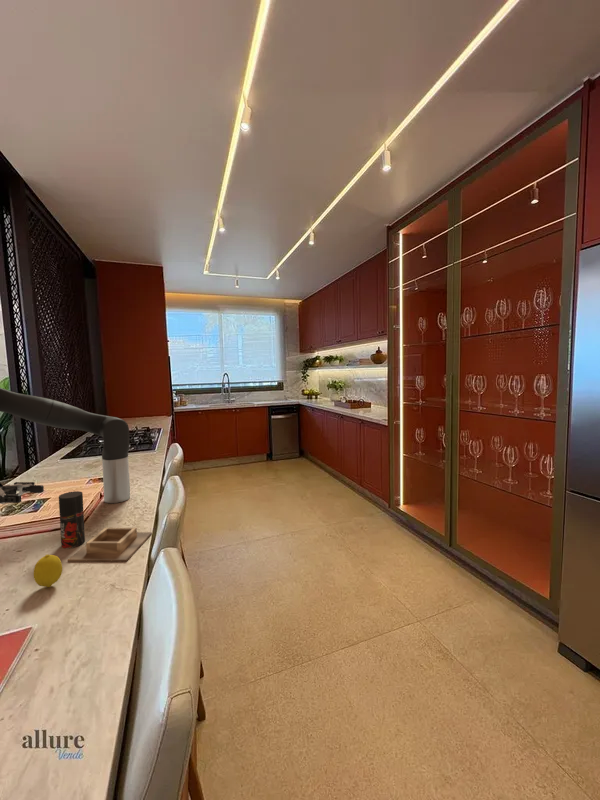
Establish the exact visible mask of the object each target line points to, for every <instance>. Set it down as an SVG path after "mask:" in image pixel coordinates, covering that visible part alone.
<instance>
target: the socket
mask: <svg viewBox="0 0 600 800" xmlns="http://www.w3.org/2000/svg"><path fill="white" fill-rule="evenodd" d="M152 535H153V533H152V532H151V531H149V532H146V531H145V532H144V531H141V532H140V531H139V532H138V529H137V527H104V528H103V529H102V530H101V531H99V532H97V534H96V535H94V536H92V538H90V540H88V541H87V542H86V543H85V545H83V547H81V548H80V549H78V550H77V551H76V552H74V554H73V555H72V556H70V557H69V558H67V562H68V563H69V562H71V563H73V562H74V563H76V562H77V563H79V562H81V563H82V562H83V563H85V562H86V563H88V562H89V563H90V562H91V563H92V562H93V563H94V562H95V563H105V562H107V563H110V562H111V563H117V562H118V563H124V562H125V563H127V562H128V560H130V559H131V557H132V556H134V554H135V553H136V552H137V551H138V550H139V549H140V548H141V547H142V545H144V543H145V542H146V541H148V539H150V537H151V536H152Z"/></svg>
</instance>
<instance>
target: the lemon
mask: <svg viewBox="0 0 600 800" xmlns="http://www.w3.org/2000/svg"><path fill="white" fill-rule="evenodd" d="M62 573H63V564H62V561H61V559H60V558H59V556H57V555H54V554H49V553H48V554H45V555H44V556H42V557H41V558H39V559H38V561H37V562H36V564H35V565H34V569H33V579H34V581H35V583H36V584H37V585H38V586H40V587H46V588H50V587H52V585H54V584H55V583H57V582H58V581H59V580H60V578H61V577H62Z"/></svg>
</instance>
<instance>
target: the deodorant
mask: <svg viewBox="0 0 600 800" xmlns="http://www.w3.org/2000/svg"><path fill="white" fill-rule="evenodd" d="M83 497H84V496H83V492H82V491H79V490H77V491H76V490H74V491H69V492H65V493H61V494H60V495H59V496H58V509H59V525H60V543H61V544H60V545H61V548H63V549H73V548H77V547H80V546H82V545H83V544H85V542H86V534H85V533H86V531H85V514H84V498H83Z"/></svg>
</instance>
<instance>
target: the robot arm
mask: <svg viewBox="0 0 600 800" xmlns="http://www.w3.org/2000/svg"><path fill="white" fill-rule="evenodd" d="M0 412H2V413H7V414H10V415H13V416H16V417H19V418H21V419H23V420H27V421H30V422H32V423H36V424H40V425H44V426H48V427H53V428H57V429H66V430H75V431H83V432H87V433H90V434H94V435H96V436H99V437H101V438H102V441H103V449H102V452H101V462H102V465H101V466H102V483H103V502H104V503H106V504H117V503H122V502H126V501H127V500H129V499H130V498H131V485H130V484H131V483H130V465H129V451H130V428H129V425H128V423H127V422H126V420H124V419H122V418H119V417H117V416H109V415H104V414H98V413H93V412H89V411H86V410H84V409H82V408H79V407H77V406H73V405H71V404H67V403H65V402H62V401H58V400H56V399H55V400H54V399H52V398H51V399H50V398H47V397H43V396H42V397H41V396H36V395H30V394H24V393H19V392H18V393H17V392H14V391H11V390H8V389H5V388H2V387H0ZM44 487H45V486H44V485H43V484H39V485H38V484H35V482H34V481H18V482H17V481H16V482H13V484H3V483H1V482H0V505H5V504H19V503H21V502H22V496H23V495H24V494H42V493H43V492H44V491H45V490H44ZM17 492H18V493H17Z"/></svg>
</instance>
